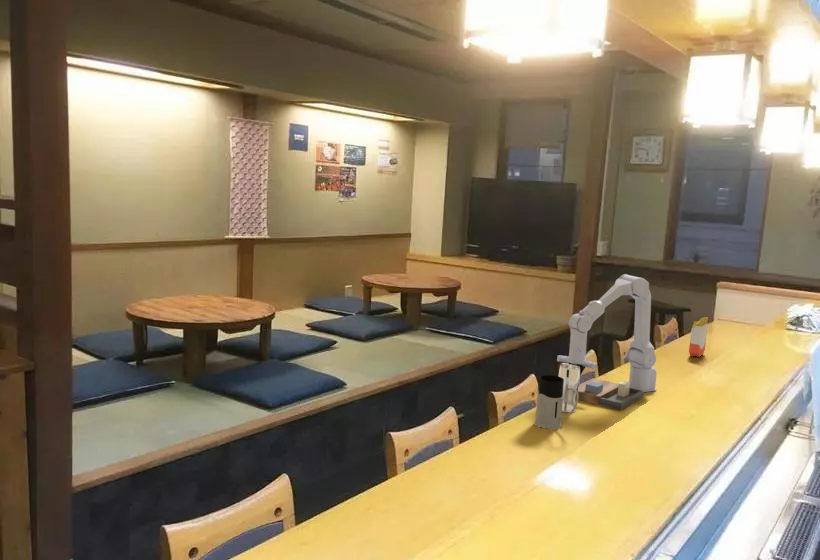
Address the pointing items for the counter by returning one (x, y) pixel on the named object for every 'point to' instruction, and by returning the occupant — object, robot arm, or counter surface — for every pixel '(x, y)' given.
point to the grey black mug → (551, 402)
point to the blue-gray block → (594, 387)
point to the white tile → (623, 388)
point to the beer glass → (569, 385)
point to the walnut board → (607, 392)
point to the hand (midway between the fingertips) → (574, 384)
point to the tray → (622, 399)
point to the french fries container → (698, 337)
